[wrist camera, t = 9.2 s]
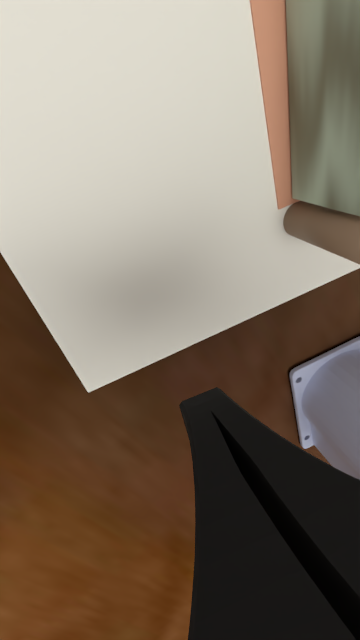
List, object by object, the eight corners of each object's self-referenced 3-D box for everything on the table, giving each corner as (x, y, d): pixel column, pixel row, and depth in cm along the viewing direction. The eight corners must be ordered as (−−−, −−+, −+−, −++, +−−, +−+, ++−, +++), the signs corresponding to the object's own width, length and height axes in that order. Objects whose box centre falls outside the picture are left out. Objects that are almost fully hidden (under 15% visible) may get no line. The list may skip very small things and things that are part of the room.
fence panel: (311, 192, 19) (385, 209, 15) (289, 199, 19) (358, 218, 14) (310, -89, 13) (429, -190, 9) (278, -84, 13) (385, -186, 9)
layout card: (473, 211, 24) (578, 230, 19) (87, 388, 21) (99, 466, 16) (550, -216, 14) (804, -394, 10) (-165, -18, 11) (-337, -139, 6)
